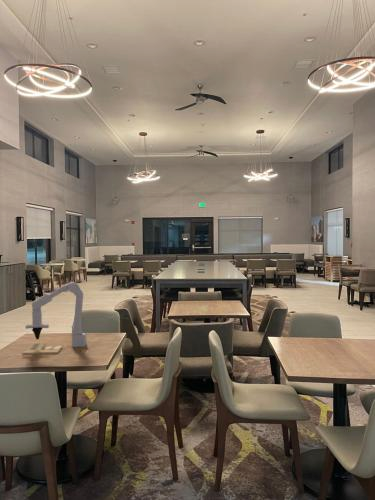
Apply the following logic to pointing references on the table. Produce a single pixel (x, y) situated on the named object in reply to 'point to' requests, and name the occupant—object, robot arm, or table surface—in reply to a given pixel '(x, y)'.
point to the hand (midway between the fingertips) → (37, 339)
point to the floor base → (41, 352)
